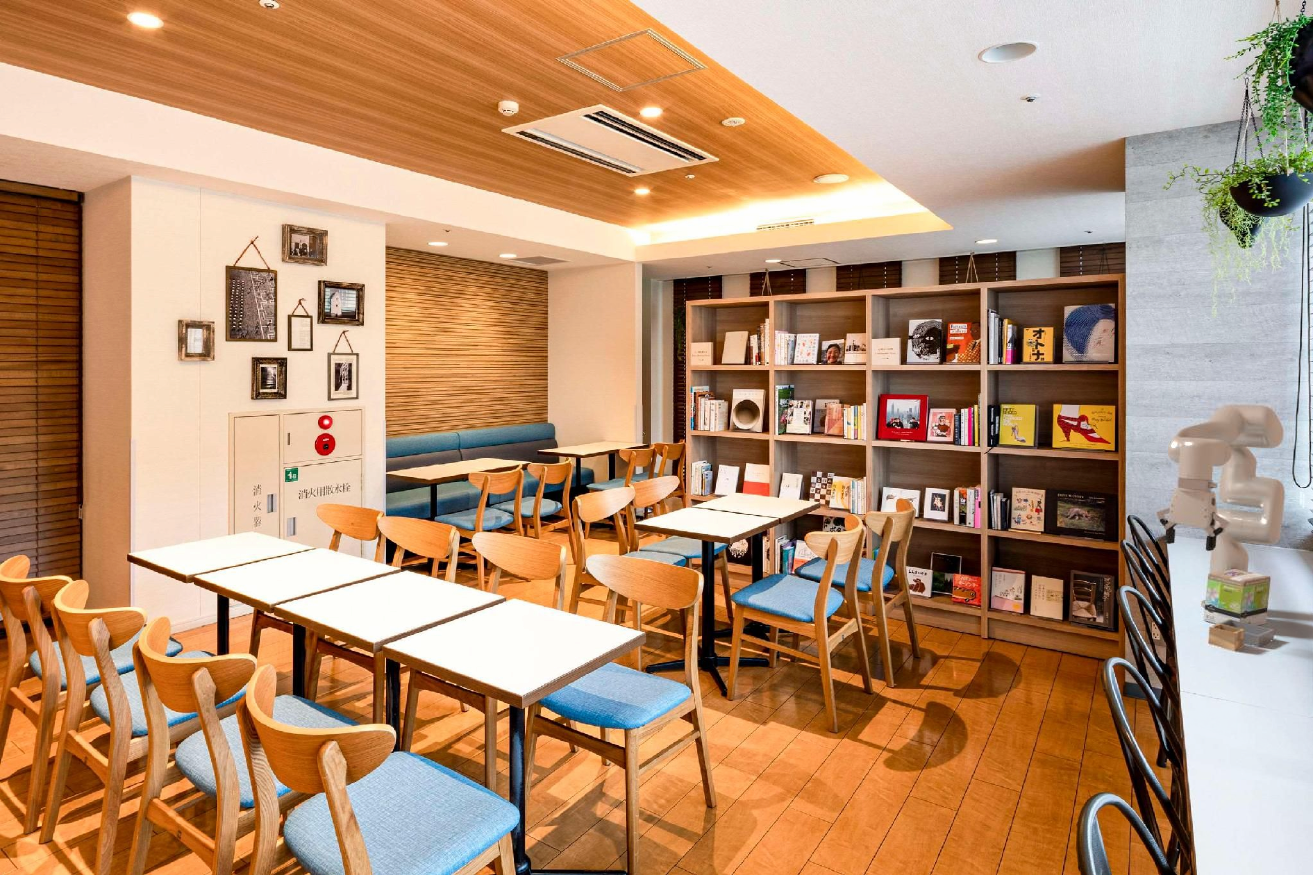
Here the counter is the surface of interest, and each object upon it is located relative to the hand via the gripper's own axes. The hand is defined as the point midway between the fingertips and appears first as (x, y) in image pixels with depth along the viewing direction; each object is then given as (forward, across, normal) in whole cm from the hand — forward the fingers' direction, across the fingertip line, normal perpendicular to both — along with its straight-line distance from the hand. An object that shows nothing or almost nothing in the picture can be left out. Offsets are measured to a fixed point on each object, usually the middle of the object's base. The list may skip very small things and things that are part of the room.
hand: (1189, 546), depth 209 cm
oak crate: (+26, -8, -5) cm, 28 cm away
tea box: (+26, -1, -31) cm, 40 cm away
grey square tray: (+26, -8, -16) cm, 32 cm away
